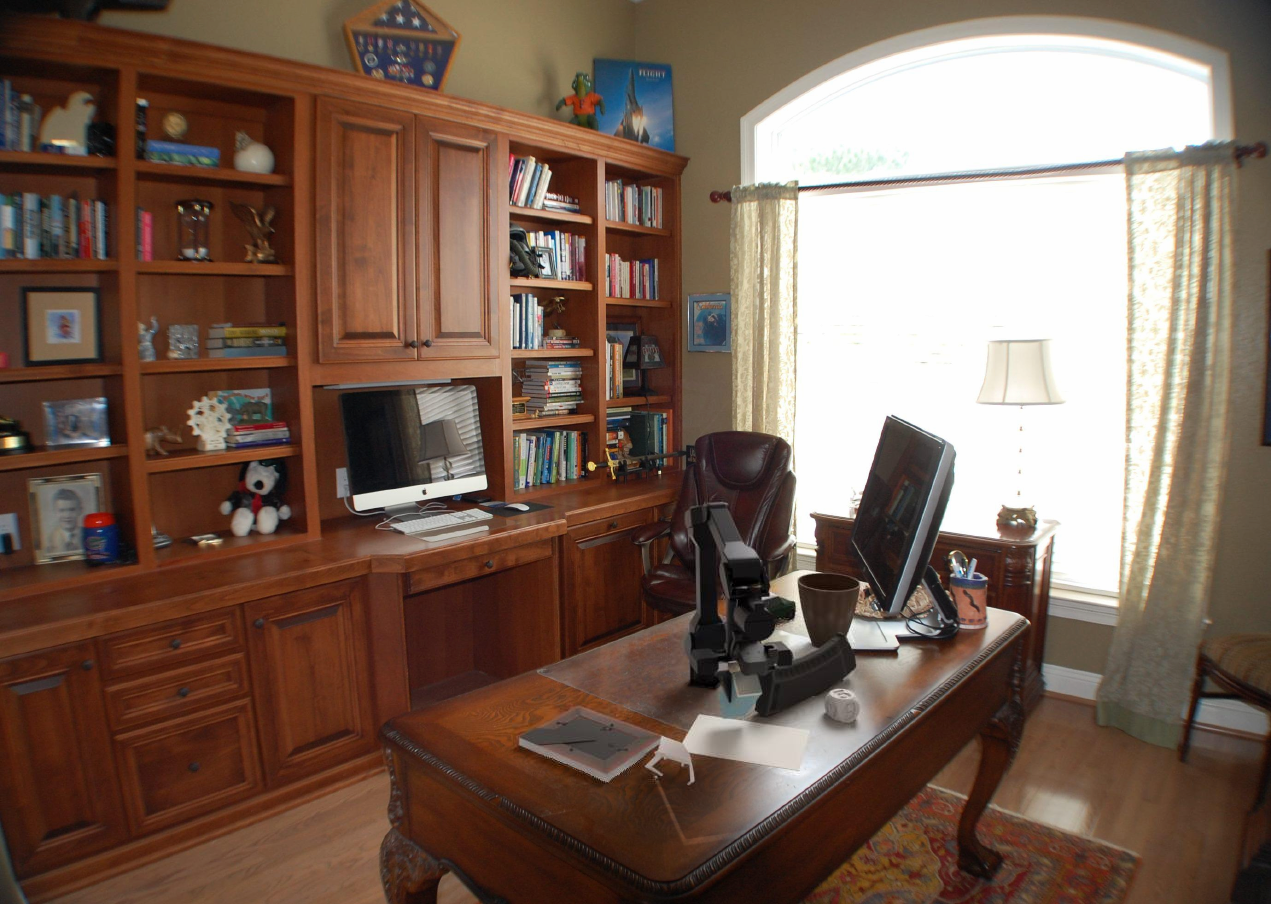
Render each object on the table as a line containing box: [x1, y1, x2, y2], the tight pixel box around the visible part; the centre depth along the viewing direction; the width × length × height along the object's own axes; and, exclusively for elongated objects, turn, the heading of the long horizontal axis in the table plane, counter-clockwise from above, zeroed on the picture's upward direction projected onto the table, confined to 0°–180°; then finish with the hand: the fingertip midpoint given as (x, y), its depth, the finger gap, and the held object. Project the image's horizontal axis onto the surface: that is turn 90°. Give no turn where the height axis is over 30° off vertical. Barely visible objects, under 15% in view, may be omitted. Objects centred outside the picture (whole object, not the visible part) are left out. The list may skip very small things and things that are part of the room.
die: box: [823, 688, 861, 724], centre depth 160 cm, size 5×5×5 cm
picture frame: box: [518, 705, 663, 783], centre depth 151 cm, size 16×2×22 cm
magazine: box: [754, 632, 857, 717], centre depth 169 cm, size 17×3×30 cm
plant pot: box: [797, 572, 861, 649], centre depth 197 cm, size 15×15×16 cm
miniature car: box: [762, 590, 797, 621], centre depth 215 cm, size 9×18×8 cm, turn 127°
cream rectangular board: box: [681, 713, 811, 771], centre depth 151 cm, size 22×15×1 cm
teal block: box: [717, 670, 762, 719], centre depth 153 cm, size 4×4×12 cm
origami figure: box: [644, 735, 695, 786], centre depth 140 cm, size 12×8×5 cm
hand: (741, 700), depth 152 cm, fingers closed on teal block, 4 cm apart
